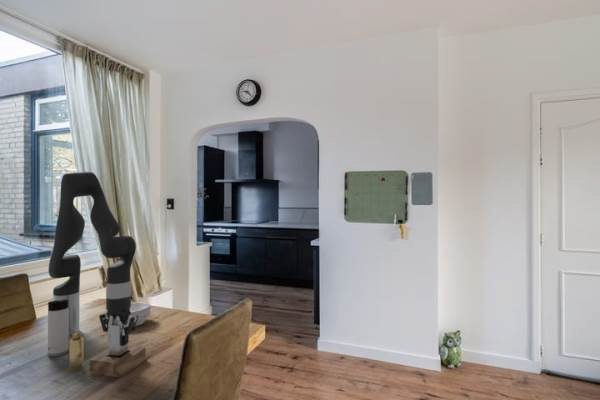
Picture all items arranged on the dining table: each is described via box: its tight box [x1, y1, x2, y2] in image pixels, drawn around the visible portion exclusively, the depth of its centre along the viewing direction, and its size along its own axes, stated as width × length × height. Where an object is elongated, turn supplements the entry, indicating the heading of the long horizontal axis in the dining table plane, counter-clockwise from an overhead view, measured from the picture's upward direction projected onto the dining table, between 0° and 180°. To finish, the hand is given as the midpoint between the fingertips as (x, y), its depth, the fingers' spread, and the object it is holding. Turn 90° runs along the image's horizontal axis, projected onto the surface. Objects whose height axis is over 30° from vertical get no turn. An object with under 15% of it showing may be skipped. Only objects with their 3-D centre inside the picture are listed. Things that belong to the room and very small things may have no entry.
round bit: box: [68, 331, 85, 372], centre depth 113 cm, size 4×4×12 cm
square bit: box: [108, 318, 129, 356], centre depth 114 cm, size 4×4×12 cm
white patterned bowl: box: [128, 301, 151, 327], centre depth 153 cm, size 15×15×8 cm
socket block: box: [89, 345, 147, 378], centre depth 114 cm, size 12×12×4 cm
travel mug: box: [47, 299, 70, 358], centre depth 124 cm, size 6×7×20 cm
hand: (118, 344), depth 114 cm, fingers closed on square bit, 4 cm apart
